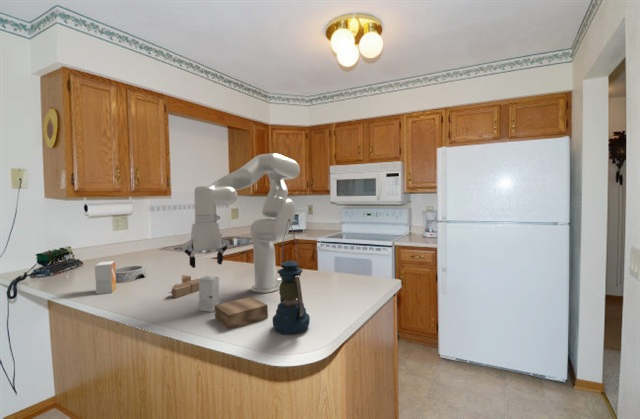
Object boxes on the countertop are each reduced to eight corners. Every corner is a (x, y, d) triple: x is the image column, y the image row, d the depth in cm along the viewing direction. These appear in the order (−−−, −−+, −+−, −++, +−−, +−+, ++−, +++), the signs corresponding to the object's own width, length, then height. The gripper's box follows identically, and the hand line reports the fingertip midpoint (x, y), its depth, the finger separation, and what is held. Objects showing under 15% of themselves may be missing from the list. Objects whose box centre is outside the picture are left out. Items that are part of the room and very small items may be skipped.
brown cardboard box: (251, 309, 122) (251, 296, 122) (267, 319, 113) (267, 304, 113) (215, 319, 114) (214, 305, 113) (229, 330, 104) (228, 315, 104)
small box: (112, 292, 146) (111, 264, 146) (95, 294, 144) (94, 265, 143) (116, 288, 154) (115, 260, 153) (101, 289, 152) (99, 261, 151)
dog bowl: (98, 282, 166) (98, 272, 165) (129, 273, 183) (128, 264, 183) (125, 284, 161) (124, 273, 160) (153, 275, 178) (153, 265, 178)
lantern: (265, 324, 107) (262, 218, 105) (297, 316, 113) (294, 216, 112) (284, 340, 95) (281, 221, 93) (318, 331, 101) (316, 218, 100)
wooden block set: (209, 276, 151) (175, 286, 136) (209, 288, 152) (175, 300, 136) (185, 272, 160) (150, 281, 144) (185, 283, 160) (150, 294, 145)
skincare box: (198, 310, 121) (197, 278, 121) (206, 306, 126) (205, 275, 125) (212, 312, 120) (211, 279, 119) (220, 308, 124) (219, 276, 123)
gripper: (225, 218, 129) (225, 261, 129) (178, 220, 119) (179, 266, 119) (232, 219, 123) (232, 264, 123) (183, 221, 113) (184, 270, 113)
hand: (206, 265), depth 121 cm, fingers open, 9 cm apart
